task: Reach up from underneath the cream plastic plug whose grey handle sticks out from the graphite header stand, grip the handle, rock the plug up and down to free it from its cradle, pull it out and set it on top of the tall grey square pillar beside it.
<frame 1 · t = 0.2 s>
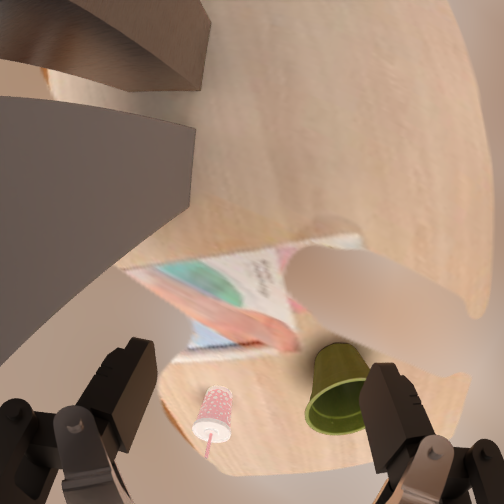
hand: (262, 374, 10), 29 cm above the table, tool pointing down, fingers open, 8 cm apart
header stand: (168, 56, 31), on the table
beverage cup: (219, 393, 48), on the table
plant pot: (336, 358, 44), on the table
tall grey square pillar: (155, 165, 36), on the table
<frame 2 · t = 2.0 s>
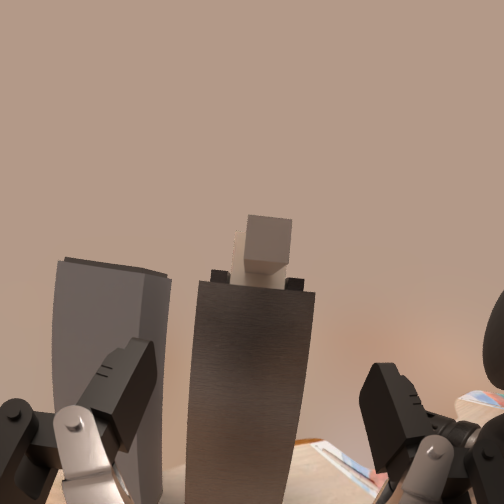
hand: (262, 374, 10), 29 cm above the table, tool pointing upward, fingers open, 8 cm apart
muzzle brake: (415, 455, 43), on the table
plug: (255, 288, 31), point 32 cm above the table, touching header stand
tall grey square pillar: (119, 500, 26), on the table
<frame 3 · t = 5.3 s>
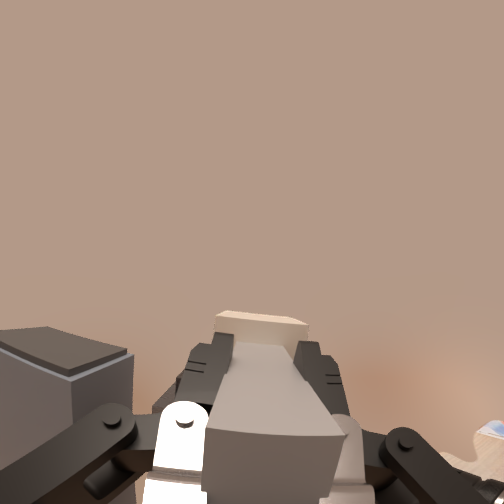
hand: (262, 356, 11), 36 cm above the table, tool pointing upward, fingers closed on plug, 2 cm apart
plug: (251, 389, 18), point 32 cm above the table, touching gripper, header stand
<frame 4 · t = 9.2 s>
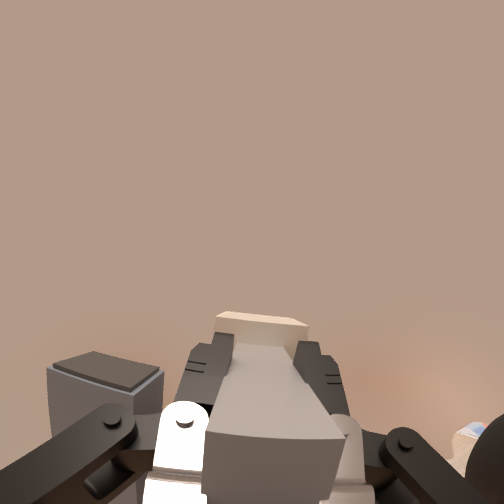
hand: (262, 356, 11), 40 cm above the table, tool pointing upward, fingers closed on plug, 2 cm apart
plug: (251, 390, 18), point 36 cm above the table, touching gripper
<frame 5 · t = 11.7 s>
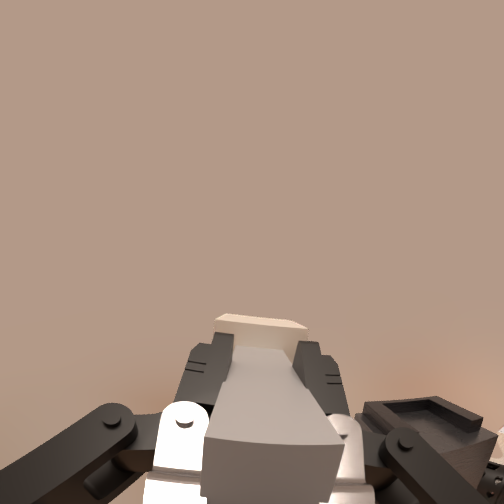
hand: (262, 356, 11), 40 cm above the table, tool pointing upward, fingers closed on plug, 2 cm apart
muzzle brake: (475, 501, 29), on the table
plug: (251, 393, 18), point 36 cm above the table, touching gripper
when the fingers open (37 cm above the table, at t = 13.3 s): plug stays where it is, resting on tall grey square pillar.
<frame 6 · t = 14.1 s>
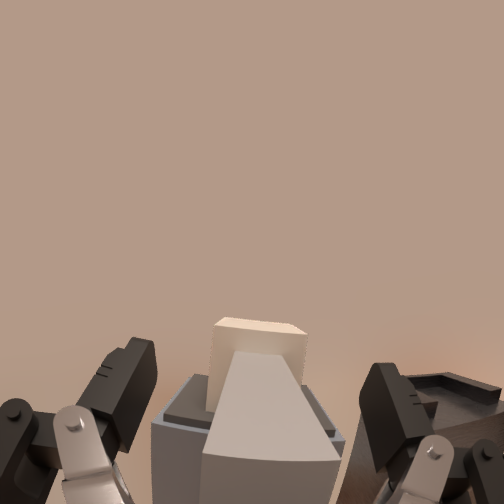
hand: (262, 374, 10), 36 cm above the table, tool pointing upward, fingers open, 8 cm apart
plug: (250, 397, 18), point 32 cm above the table, touching tall grey square pillar
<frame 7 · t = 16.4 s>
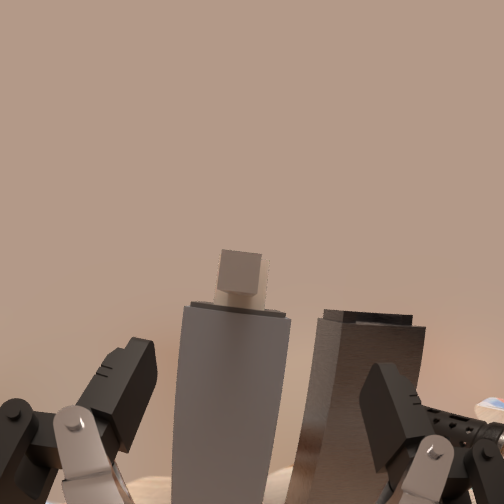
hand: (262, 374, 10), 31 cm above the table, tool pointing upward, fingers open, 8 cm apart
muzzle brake: (451, 455, 43), on the table
plug: (239, 306, 32), point 32 cm above the table, touching tall grey square pillar
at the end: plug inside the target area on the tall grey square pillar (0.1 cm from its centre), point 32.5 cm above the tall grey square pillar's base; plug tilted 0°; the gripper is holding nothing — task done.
